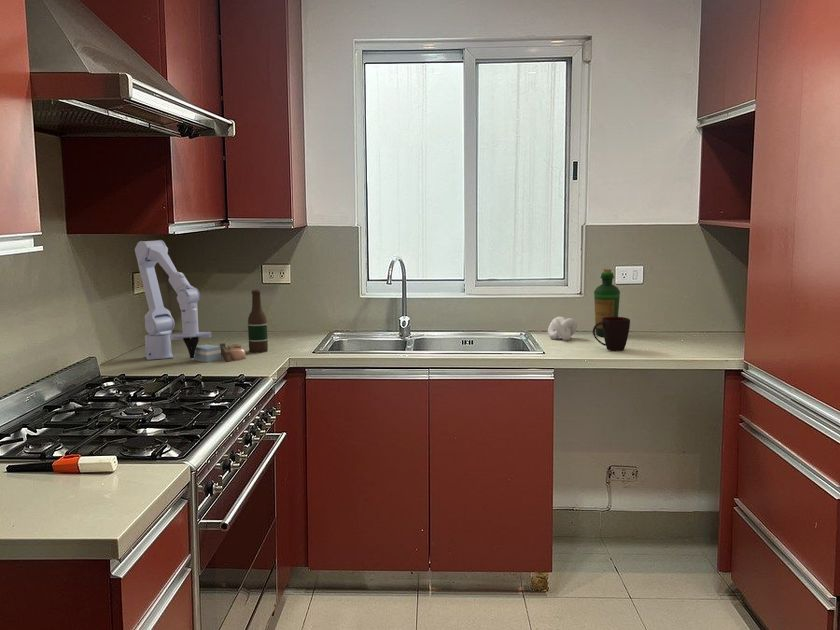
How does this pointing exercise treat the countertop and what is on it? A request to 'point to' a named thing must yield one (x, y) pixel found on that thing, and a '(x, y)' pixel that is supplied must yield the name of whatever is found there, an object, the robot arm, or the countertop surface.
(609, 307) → the bottle
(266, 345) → the beer bottle
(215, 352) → the carton
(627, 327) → the cup
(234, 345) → the maple block
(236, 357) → the pink rounded block
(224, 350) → the display stand
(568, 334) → the white lumpy piece
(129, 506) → the countertop surface
